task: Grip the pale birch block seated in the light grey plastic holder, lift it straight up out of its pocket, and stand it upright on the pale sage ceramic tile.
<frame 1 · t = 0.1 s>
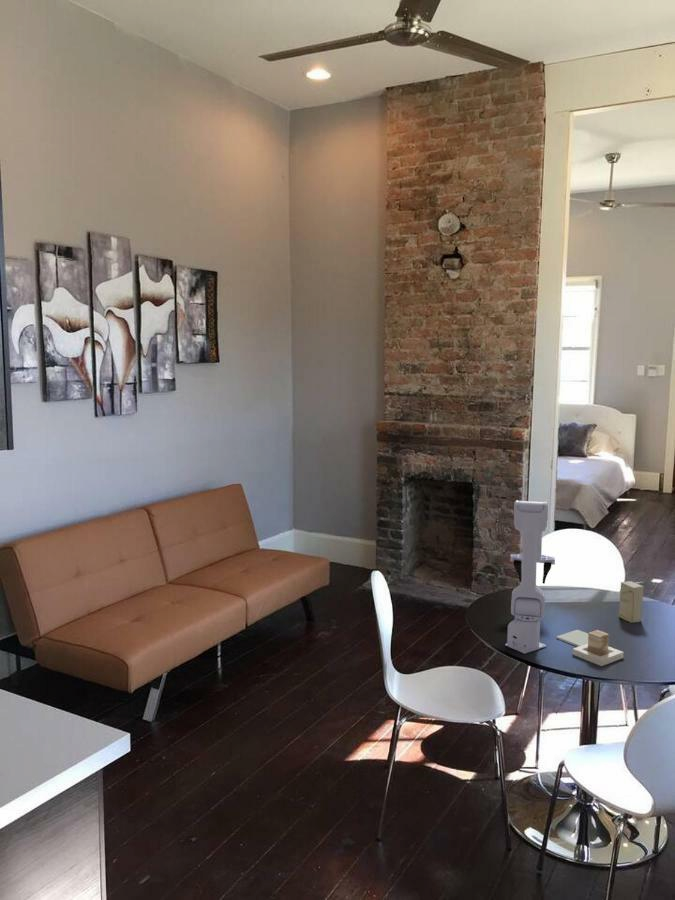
hand: (532, 581, 252), 11 cm above the table, tool pointing down, fingers open, 7 cm apart
tile: (580, 639, 228), on the table
skincare box: (630, 620, 245), on the table
holder: (597, 656, 215), on the table
birch block: (598, 644, 215), in the holder
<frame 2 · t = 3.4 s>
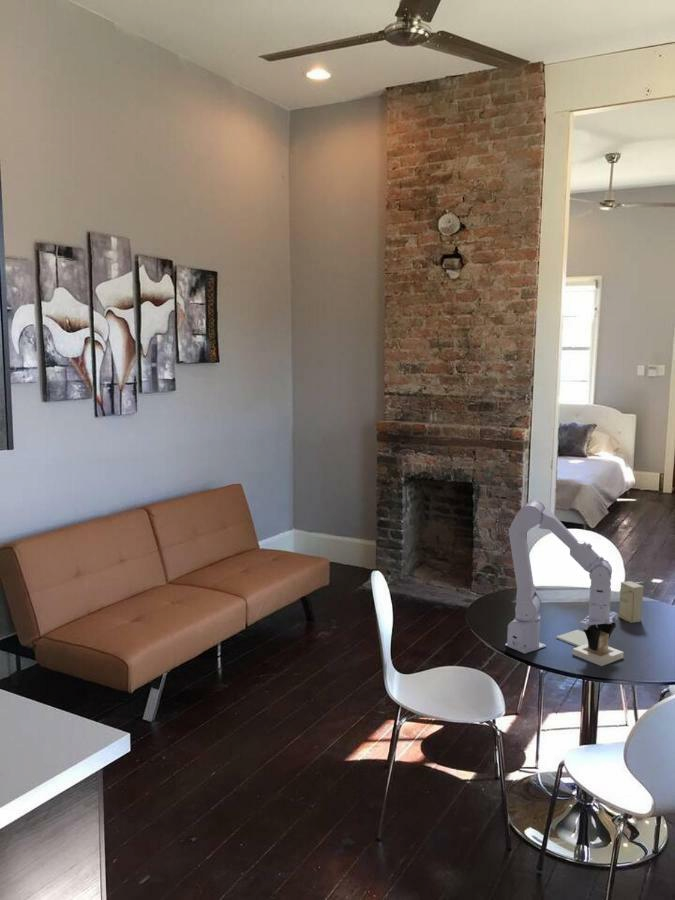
hand: (598, 647, 215), 3 cm above the table, tool pointing down, fingers closed on birch block, 4 cm apart
birch block: (598, 644, 215), in the holder, touching gripper
everything else where it was.
when the fingers open (5 cm above the table, at t = 7.8 s): birch block drops 1 cm, resting on tile.
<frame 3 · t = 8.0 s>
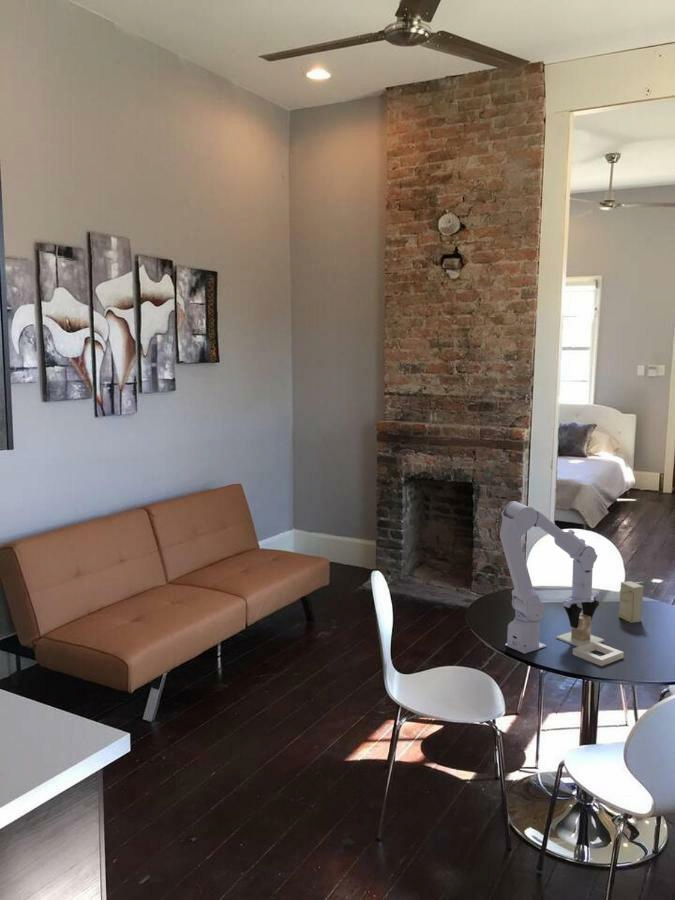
hand: (580, 625, 227), 5 cm above the table, tool pointing down, fingers open, 6 cm apart
birch block: (581, 627, 227), on the tile, point 4 cm above the table
everything else where it was.
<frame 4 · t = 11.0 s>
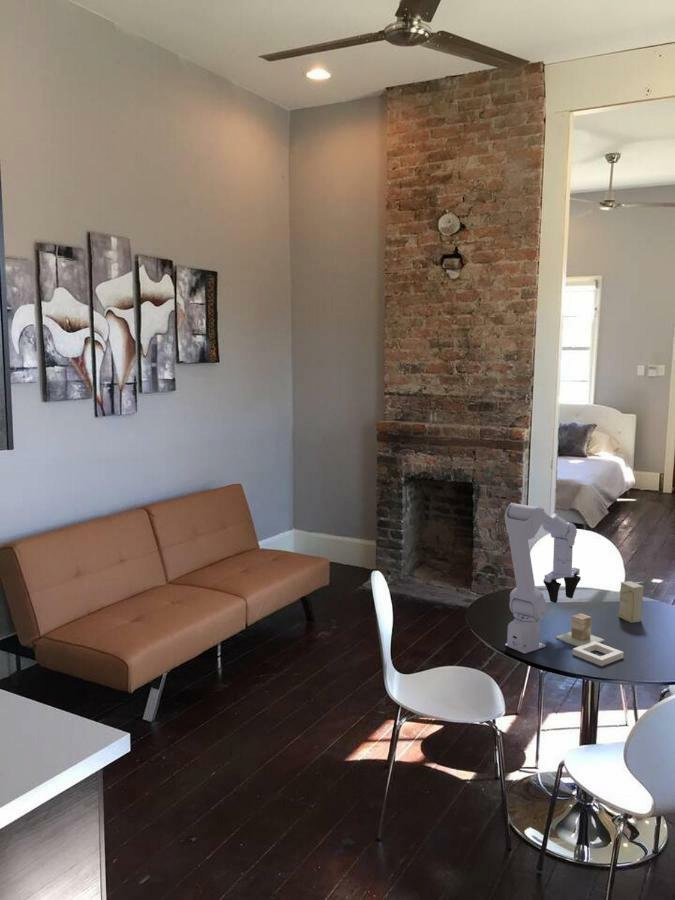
hand: (561, 599, 237), 9 cm above the table, tool pointing down, fingers open, 7 cm apart
nothing on the table moved.
at the end: birch block 0.2 cm off-centre on the tile, point 4.1 cm above the tile's base; birch block tilted 0°; the gripper is holding nothing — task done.
